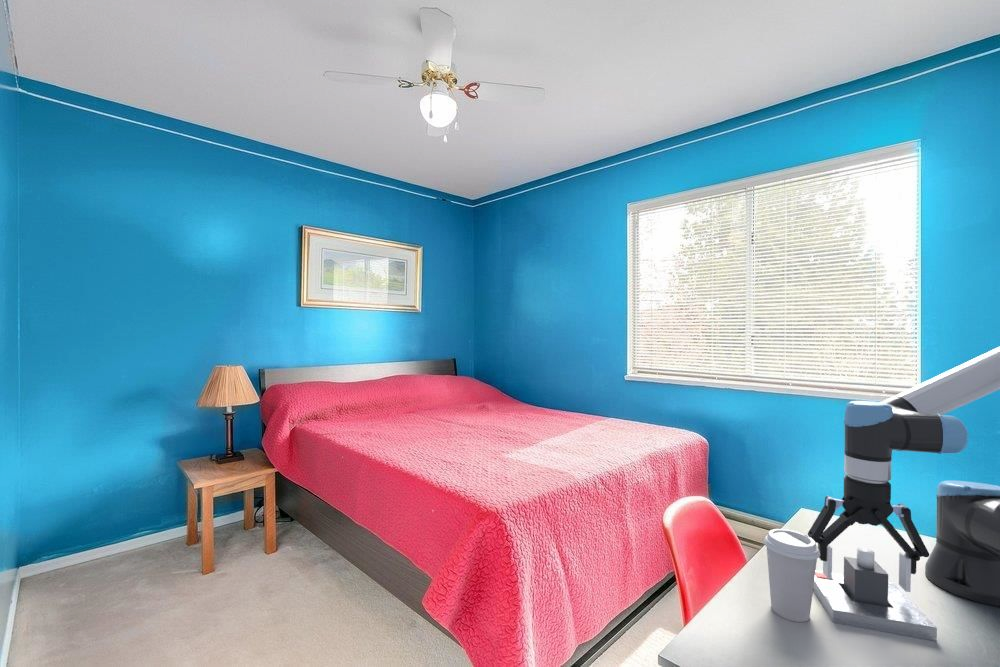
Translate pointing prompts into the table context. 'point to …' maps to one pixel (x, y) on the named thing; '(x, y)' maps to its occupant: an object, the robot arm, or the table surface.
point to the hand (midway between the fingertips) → (865, 582)
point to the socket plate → (873, 609)
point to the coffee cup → (791, 572)
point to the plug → (865, 579)
